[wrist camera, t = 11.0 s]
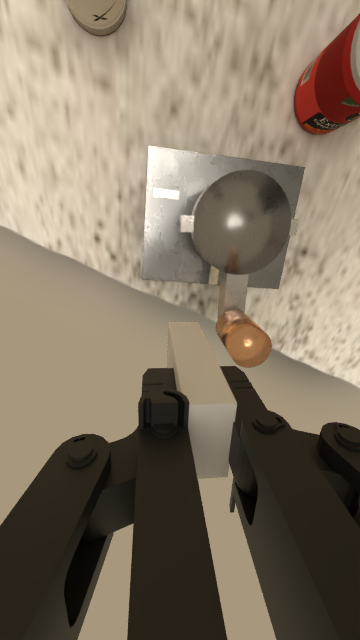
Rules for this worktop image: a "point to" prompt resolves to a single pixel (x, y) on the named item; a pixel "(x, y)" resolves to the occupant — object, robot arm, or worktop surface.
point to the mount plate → (179, 199)
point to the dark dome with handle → (240, 250)
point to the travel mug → (98, 14)
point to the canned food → (331, 84)
